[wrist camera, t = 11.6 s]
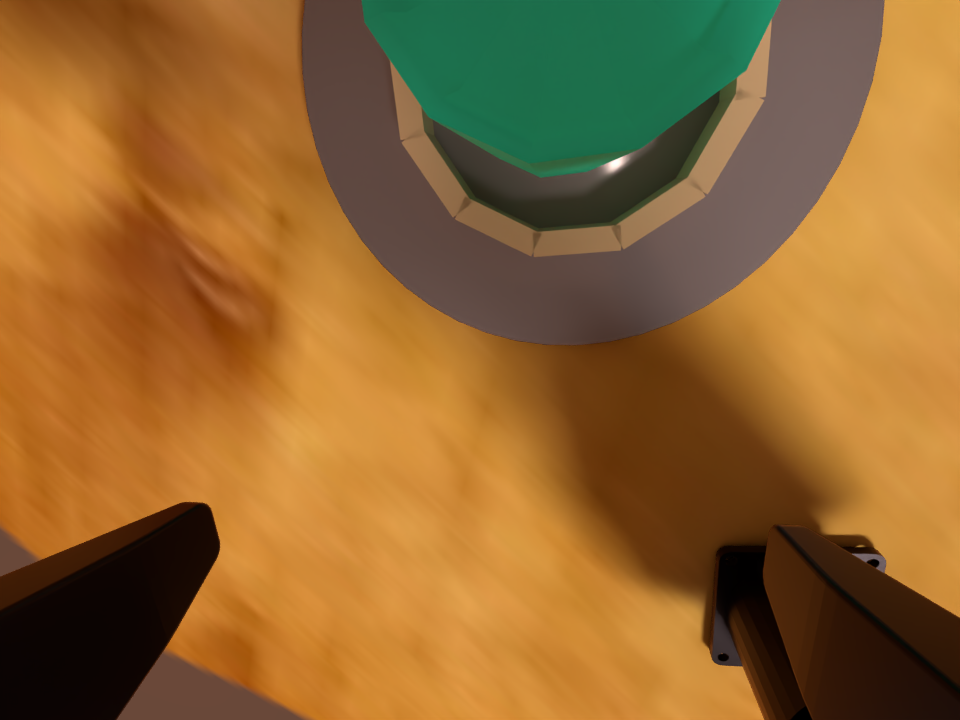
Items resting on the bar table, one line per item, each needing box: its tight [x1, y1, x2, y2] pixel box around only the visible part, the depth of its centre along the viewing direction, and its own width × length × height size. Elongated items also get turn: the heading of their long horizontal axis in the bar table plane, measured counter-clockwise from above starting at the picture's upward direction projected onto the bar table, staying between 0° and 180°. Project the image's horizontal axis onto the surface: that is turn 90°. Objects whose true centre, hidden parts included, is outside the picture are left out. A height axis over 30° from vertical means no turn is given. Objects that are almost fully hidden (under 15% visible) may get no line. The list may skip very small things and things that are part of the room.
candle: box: [362, 0, 781, 178], centre depth 10 cm, size 6×6×12 cm
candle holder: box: [302, 0, 884, 345], centre depth 16 cm, size 18×18×2 cm
